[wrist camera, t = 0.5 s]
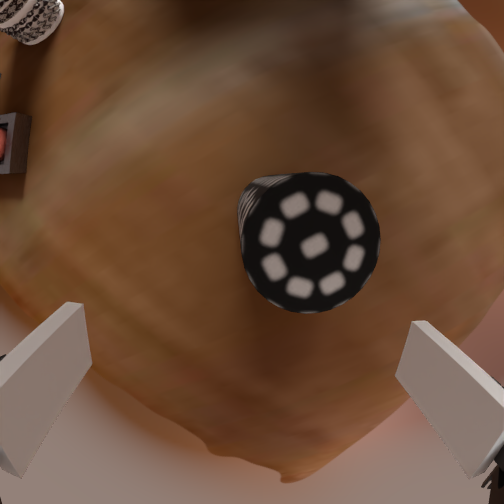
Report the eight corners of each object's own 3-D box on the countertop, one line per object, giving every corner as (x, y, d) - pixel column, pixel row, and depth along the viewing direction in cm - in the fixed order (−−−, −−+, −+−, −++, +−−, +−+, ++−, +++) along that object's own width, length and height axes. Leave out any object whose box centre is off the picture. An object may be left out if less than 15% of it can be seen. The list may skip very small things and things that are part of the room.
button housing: (-5, 121, 31) (-21, 119, 28) (32, 116, 32) (16, 112, 28) (-10, 174, 33) (-27, 175, 29) (26, 172, 34) (9, 173, 30)
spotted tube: (257, 257, 38) (281, 336, 19) (224, 196, 36) (214, 215, 17) (318, 225, 38) (397, 272, 18) (287, 163, 36) (346, 148, 17)
